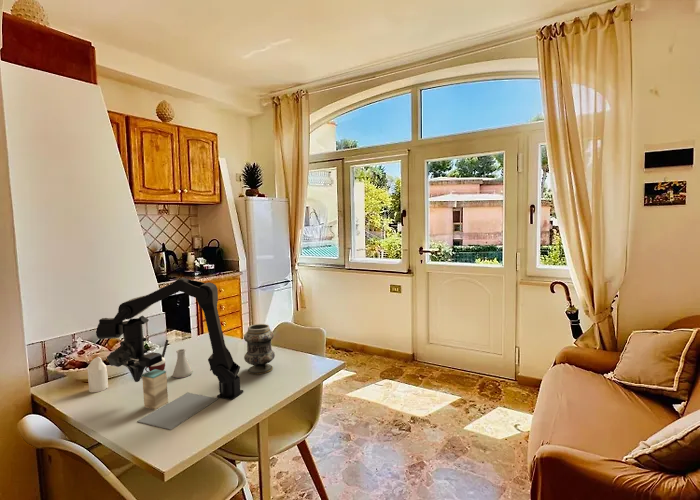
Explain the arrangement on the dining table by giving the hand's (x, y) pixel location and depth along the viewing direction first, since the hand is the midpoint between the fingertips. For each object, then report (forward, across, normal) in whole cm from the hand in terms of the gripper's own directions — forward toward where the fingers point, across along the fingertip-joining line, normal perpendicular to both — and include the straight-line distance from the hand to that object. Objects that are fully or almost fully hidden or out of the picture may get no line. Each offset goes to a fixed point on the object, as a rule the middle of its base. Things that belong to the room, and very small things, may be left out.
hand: (137, 381), depth 128 cm
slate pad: (+7, +19, 0) cm, 20 cm away
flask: (+7, -3, +22) cm, 23 cm away
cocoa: (+7, -15, +21) cm, 26 cm away
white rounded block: (+7, -23, +2) cm, 24 cm away
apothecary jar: (+7, +24, +36) cm, 44 cm away
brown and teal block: (+7, +8, 0) cm, 11 cm away
